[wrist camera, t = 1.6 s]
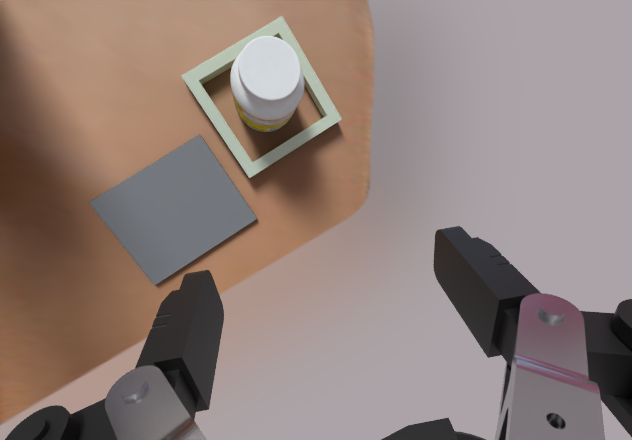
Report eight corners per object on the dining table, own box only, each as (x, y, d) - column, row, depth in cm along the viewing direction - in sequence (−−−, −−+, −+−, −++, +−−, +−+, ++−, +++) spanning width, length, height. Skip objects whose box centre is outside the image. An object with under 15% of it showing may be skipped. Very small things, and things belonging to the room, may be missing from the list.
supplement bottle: (282, 141, 31) (295, 125, 22) (226, 119, 30) (215, 93, 21) (301, 85, 31) (322, 45, 22) (245, 62, 30) (242, 9, 21)
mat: (156, 283, 31) (154, 285, 30) (91, 202, 29) (88, 202, 29) (257, 218, 32) (257, 218, 31) (200, 135, 30) (199, 134, 30)
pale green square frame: (249, 178, 31) (249, 178, 30) (184, 80, 29) (181, 75, 28) (337, 122, 32) (341, 119, 31) (280, 23, 30) (282, 15, 29)
